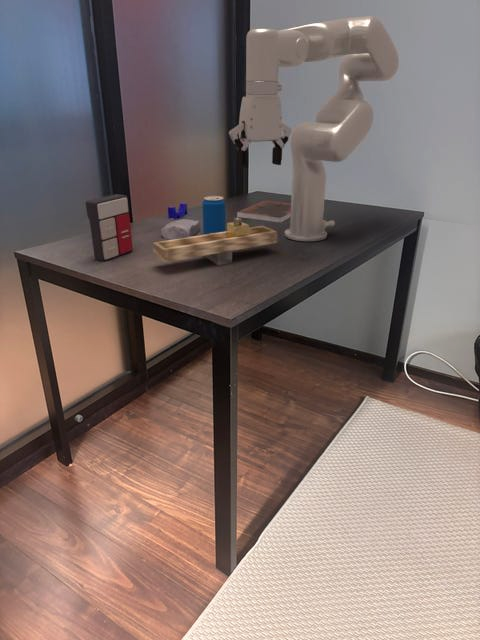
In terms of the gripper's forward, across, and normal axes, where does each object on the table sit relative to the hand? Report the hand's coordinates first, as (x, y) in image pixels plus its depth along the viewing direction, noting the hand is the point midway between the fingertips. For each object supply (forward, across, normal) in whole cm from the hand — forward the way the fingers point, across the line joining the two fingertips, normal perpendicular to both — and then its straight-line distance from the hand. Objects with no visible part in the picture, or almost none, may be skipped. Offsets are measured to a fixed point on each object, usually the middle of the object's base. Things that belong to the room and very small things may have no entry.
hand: (260, 165), depth 120 cm
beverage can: (+23, +5, -16) cm, 28 cm away
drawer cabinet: (+23, +35, -16) cm, 45 cm away
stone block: (+23, +12, -27) cm, 37 cm away
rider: (+18, +7, 0) cm, 19 cm away
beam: (+22, +13, +1) cm, 26 cm away
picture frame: (+23, -28, -36) cm, 51 cm away
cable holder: (+23, +3, -47) cm, 53 cm away
